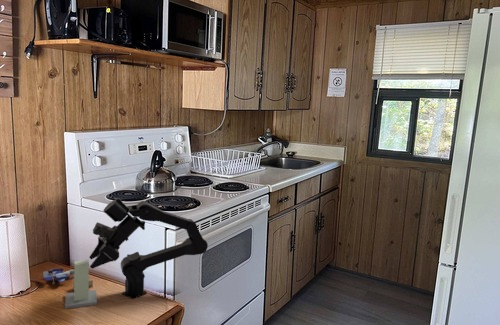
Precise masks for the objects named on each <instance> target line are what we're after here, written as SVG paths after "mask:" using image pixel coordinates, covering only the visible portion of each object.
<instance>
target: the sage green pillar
mask: <svg viewBox="0 0 500 325" xmlns="http://www.w3.org/2000/svg"><path fill="white" fill-rule="evenodd" d="M89 262H90V261H89V259H88V260H87V259H86V260H76V261H75V260H74V269H73V270H74V275H73V276H74V278H73V280H74V281H73V282H74V290H73V291H74V292H73V293H74V301H80V300H88V295H89V291H90V288H89V278H90V277H89V274H90V272H89V271H90V264H89Z"/></svg>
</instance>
